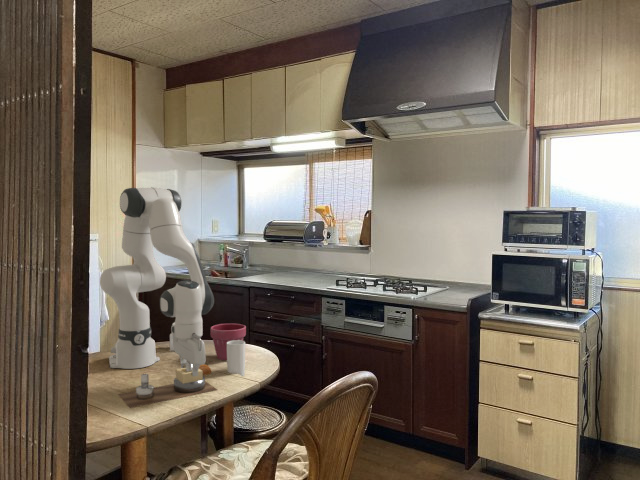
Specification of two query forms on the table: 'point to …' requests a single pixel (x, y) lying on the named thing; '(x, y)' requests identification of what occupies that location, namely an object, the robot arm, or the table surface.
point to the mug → (236, 357)
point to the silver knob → (144, 389)
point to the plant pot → (226, 337)
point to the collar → (188, 376)
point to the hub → (190, 386)
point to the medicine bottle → (171, 339)
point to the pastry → (205, 369)
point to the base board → (160, 395)
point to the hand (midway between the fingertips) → (189, 371)
